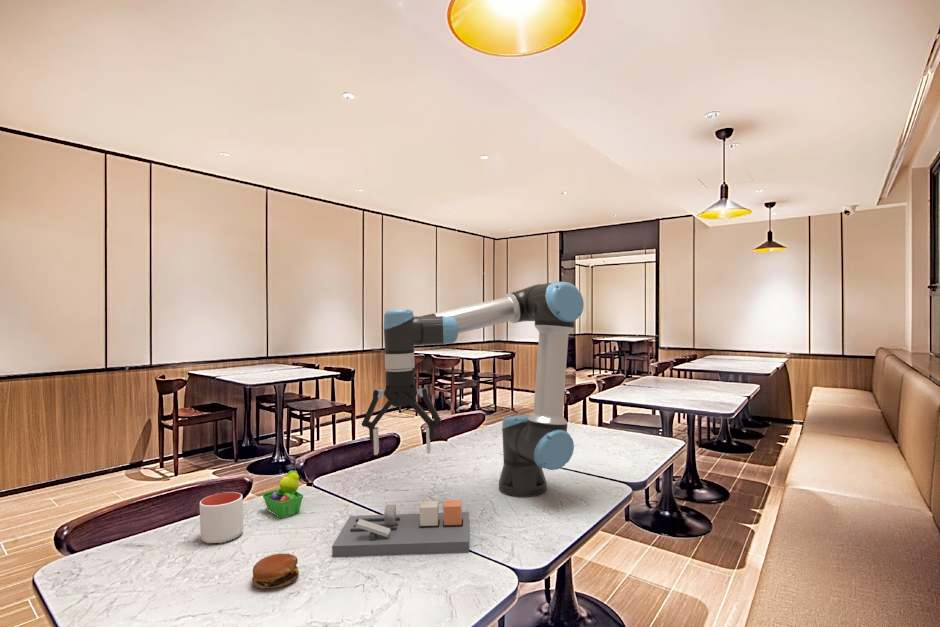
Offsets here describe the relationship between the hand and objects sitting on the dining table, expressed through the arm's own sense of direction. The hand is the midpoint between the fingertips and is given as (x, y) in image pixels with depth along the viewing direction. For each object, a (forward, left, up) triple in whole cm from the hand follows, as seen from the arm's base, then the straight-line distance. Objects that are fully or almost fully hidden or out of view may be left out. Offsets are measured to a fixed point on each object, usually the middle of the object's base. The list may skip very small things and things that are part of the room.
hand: (402, 452), depth 130 cm
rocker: (+7, +7, -16) cm, 19 cm away
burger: (+25, +21, -21) cm, 39 cm away
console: (0, +2, -21) cm, 21 cm away
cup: (+48, -2, -21) cm, 52 cm away
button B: (-6, 0, -18) cm, 19 cm away
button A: (-12, 0, -18) cm, 22 cm away
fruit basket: (+37, -18, -21) cm, 46 cm away
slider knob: (+4, 0, -18) cm, 18 cm away
